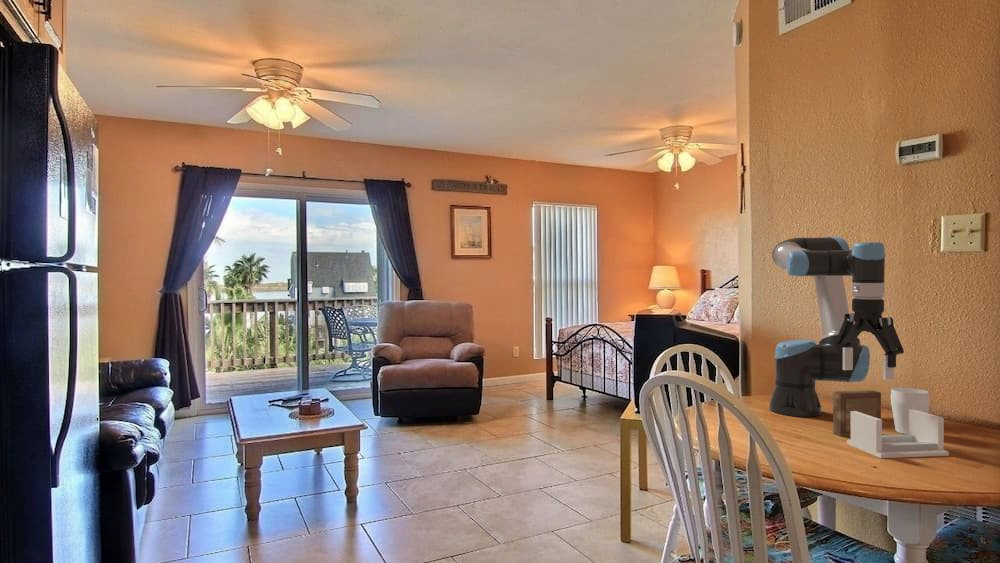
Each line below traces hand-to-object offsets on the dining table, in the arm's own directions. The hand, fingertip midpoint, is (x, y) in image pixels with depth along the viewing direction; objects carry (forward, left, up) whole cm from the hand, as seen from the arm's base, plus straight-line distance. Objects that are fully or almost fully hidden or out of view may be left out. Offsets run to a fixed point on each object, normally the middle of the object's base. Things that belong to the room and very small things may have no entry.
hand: (867, 374), depth 157 cm
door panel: (-2, -2, -17) cm, 17 cm away
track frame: (+12, -2, -17) cm, 21 cm away
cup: (-2, +14, -17) cm, 23 cm away
